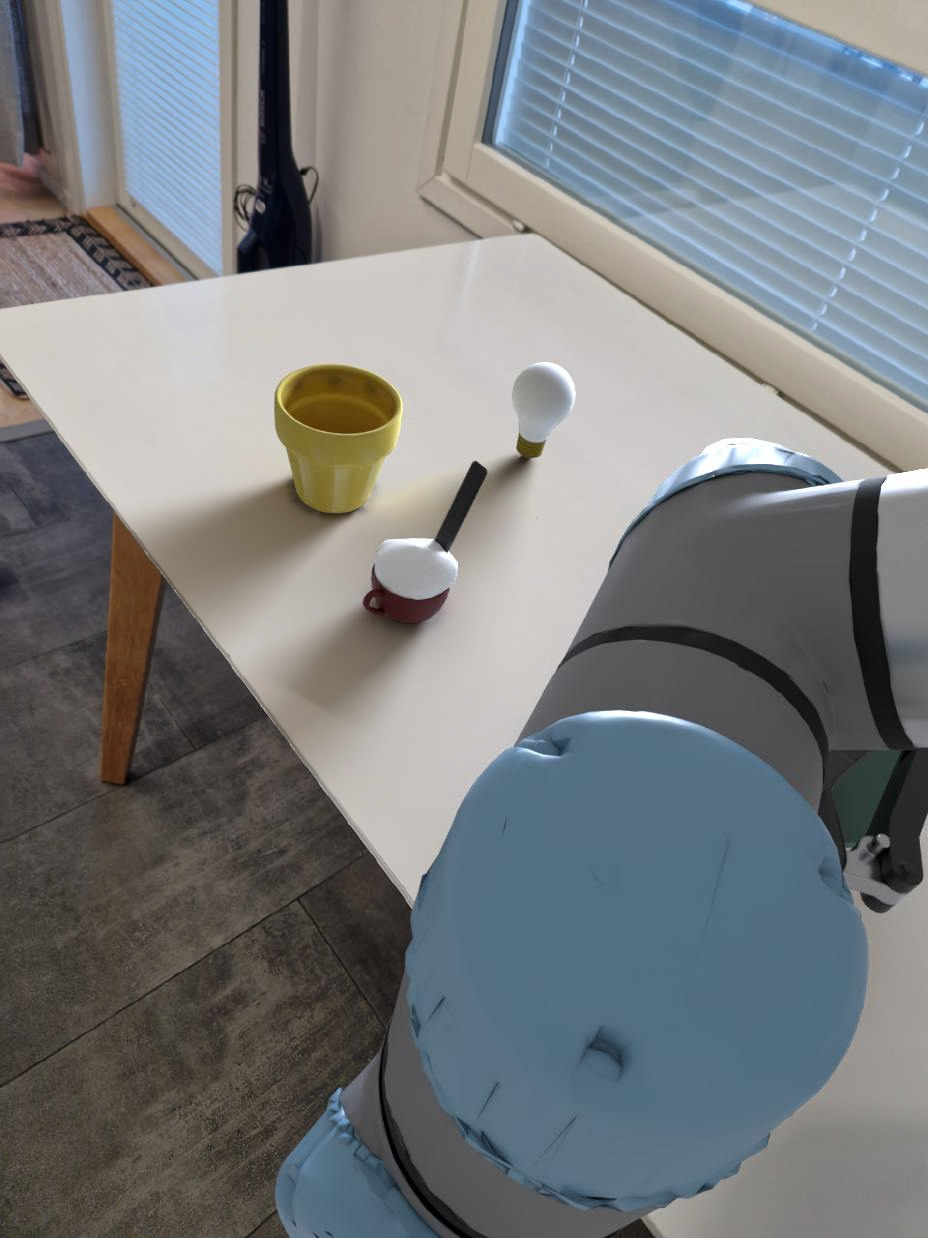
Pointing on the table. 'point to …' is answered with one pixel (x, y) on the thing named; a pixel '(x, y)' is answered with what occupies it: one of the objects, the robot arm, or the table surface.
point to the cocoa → (421, 563)
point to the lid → (863, 794)
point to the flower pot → (336, 432)
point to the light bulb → (540, 405)
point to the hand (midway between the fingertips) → (899, 601)
